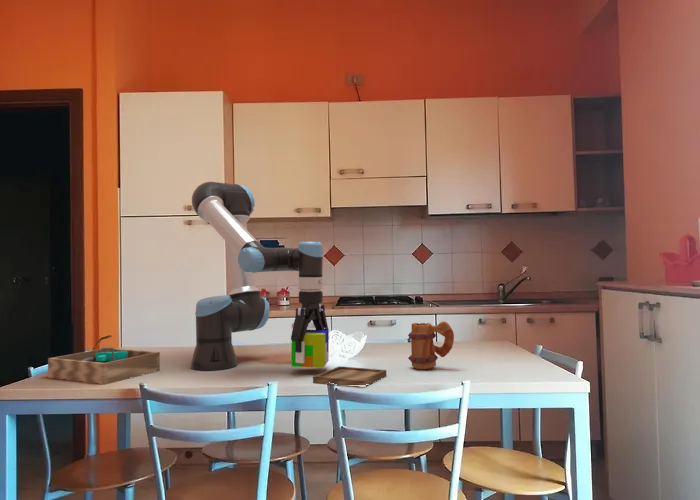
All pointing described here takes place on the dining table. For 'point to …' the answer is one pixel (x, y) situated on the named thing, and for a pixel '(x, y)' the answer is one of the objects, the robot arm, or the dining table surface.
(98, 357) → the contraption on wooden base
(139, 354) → the open wooden box
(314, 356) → the puzzle toy
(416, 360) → the mug
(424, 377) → the dining table surface
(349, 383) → the square wooden tray
